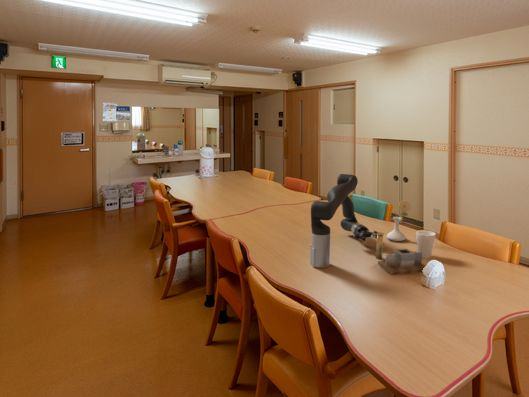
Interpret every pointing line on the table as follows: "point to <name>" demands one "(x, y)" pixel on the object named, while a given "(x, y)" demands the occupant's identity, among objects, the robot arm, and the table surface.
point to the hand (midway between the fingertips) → (372, 239)
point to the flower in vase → (396, 233)
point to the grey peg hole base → (397, 270)
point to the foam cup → (425, 242)
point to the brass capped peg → (379, 245)
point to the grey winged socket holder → (403, 258)
